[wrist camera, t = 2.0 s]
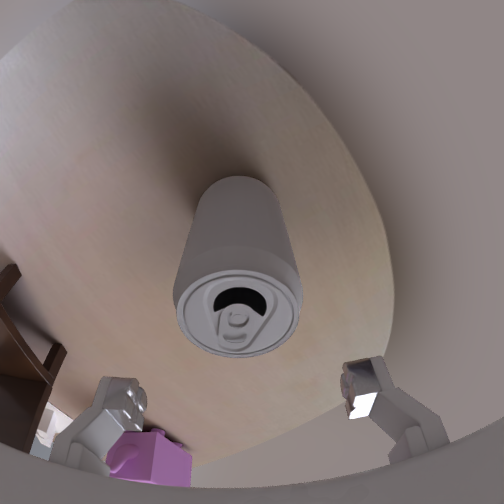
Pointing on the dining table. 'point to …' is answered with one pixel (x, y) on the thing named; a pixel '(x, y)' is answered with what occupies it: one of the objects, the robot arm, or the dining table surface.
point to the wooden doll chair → (22, 377)
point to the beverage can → (238, 272)
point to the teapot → (149, 459)
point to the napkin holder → (51, 424)
